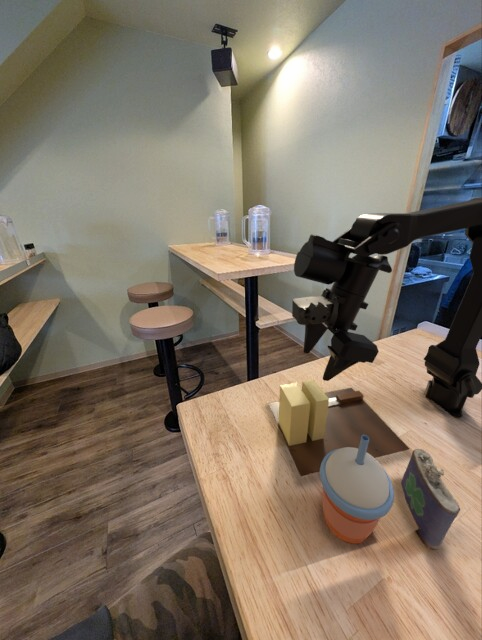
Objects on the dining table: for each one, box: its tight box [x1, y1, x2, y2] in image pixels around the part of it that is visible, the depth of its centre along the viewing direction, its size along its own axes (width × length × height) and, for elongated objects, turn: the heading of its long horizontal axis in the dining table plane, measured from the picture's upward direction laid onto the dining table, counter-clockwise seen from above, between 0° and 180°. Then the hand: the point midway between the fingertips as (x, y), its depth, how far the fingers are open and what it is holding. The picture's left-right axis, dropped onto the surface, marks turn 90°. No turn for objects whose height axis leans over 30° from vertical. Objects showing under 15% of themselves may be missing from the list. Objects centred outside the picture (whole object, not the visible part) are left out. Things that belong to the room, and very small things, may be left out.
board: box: [268, 387, 410, 477], centre depth 53 cm, size 22×18×2 cm
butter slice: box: [301, 379, 329, 441], centre depth 50 cm, size 2×6×10 cm, turn 13°
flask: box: [400, 448, 461, 550], centre depth 36 cm, size 9×3×11 cm, turn 172°
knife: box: [328, 390, 365, 407], centre depth 58 cm, size 15×2×1 cm, turn 102°
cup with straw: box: [319, 435, 395, 544], centre depth 34 cm, size 9×9×18 cm
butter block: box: [278, 382, 310, 446], centre depth 49 cm, size 4×6×10 cm, turn 12°
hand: (314, 365), depth 49 cm, fingers open, 9 cm apart
